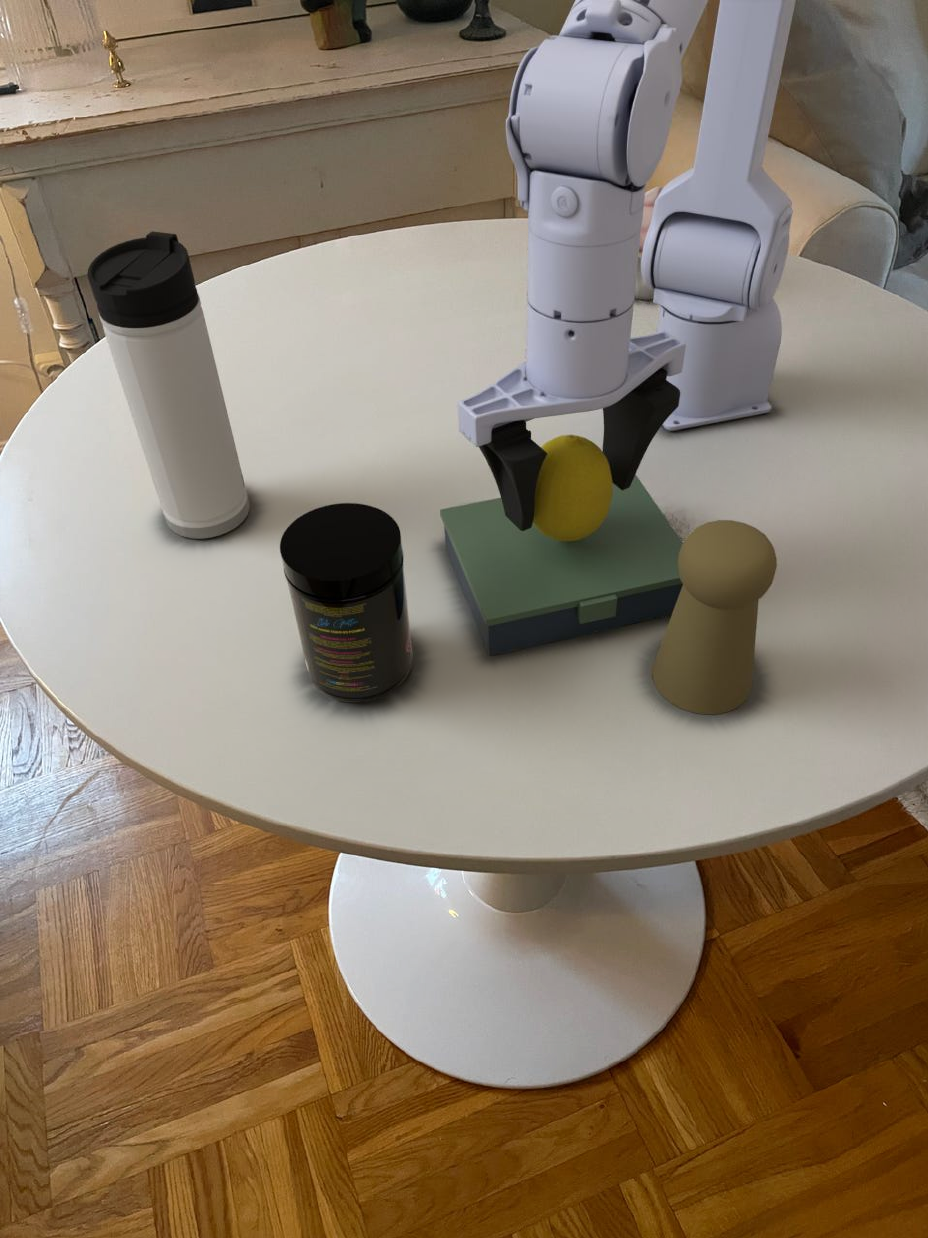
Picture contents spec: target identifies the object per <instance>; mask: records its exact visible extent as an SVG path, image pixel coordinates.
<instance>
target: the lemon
mask: <svg viewBox="0 0 928 1238" xmlns="http://www.w3.org/2000/svg"><path fill="white" fill-rule="evenodd" d="M540 447H541V448H542V449H543V450H544V451H546V452H547V453H548V454H547V455H546V457H545V460H544V462H543V464H542V467H541V469H540V472H539V476H538V480H537V485H536V490H535V509H534V520H533V523H534V525H535V526H536V528H537V529H538V530H539V531H541V532H542V533H543V534H544V535H546V536H548V537H550V538H552V539H554V540H558V541H565V542H569V541H576V540H580V539H583V538H585V537H587V536H589V535H590V534H592V533H593V532H594V531H596V530H597V529H598V528H599V527H600V525H601V524H602V522H603V521H604V519H605V518H606V516H607V514H608V511H609V508H610V503H611V499H612V493H613V483H612V476H611V471H610V466H609V463H608V460H607V458H606V456H605V455H604V453H603V449H601V448H600V447H599V446H598V445H597V444H596V443H595V442H593V441H592V440H590V439H588V438H587V437H584V436H581V435H576V434H564V435H560V436H556V437H554V438H551V439H550V440H548V441H546V442H545V443H544V444H543V445H541V446H540Z"/></svg>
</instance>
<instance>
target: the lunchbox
mask: <svg viewBox="0 0 928 1238" xmlns="http://www.w3.org/2000/svg"><path fill="white" fill-rule="evenodd" d="M439 517H440V519H441V521H442V524H443V529H444V545H445V547H444V548H445V551H446V554H447V556H448V559H449V561H450V563H451V565H452V569H453V570H454V574H455V576H456V578H457V581H458V583H459V586H460V588H461V590H462V592H463V595H464V597H465V598H464V599H465V600H466V603H467V605H468V607H469V610H470V612H471V615H472V617H473V620H474V622H475V624H476V627H477V629H478V632H479V635H480V636H481V639H482V641H483V644H484V646H485V647H484V648H485V649H486V651H487V654H488V656H495V655H499V654H504V653H508V652H513V651H517V650H521V649H526V648H529V647H535V646H540V645H544V644H548V643H553V642H557V641H561V640H566V639H570V638H575V637H580V636H585V635H588V634H592V633H597V632H602V631H606V630H610V629H611V630H612V629H614V628H615V629H616V628H620V627H623V626H627V625H632V624H637V623H641V622H646V621H650V620H654V619H659V618H663V617H668V616H672V613H673V610H674V608H675V605H676V602H677V600H678V597H679V594H680V591H681V589H682V586H683V583H682V582H681V580H680V575H679V568H678V556H679V552H680V549H681V547H682V544H683V542H684V541H683V540H682V539H681V537H680V536H679V534H678V533H677V532H676V530H675V529H674V527H673V526H672V524H671V523H670V522H669V520H668V519H667V517H666V516H665V514H664V513H663V511H662V510H661V508H660V507H659V506H658V504H657V503H656V501H655V500H654V498H652V496H651V495H650V493H649V491H648V490H647V489H646V487H645V486H644V485H643V483H642V481H641V480H640V479H639V477H638V476H637V473H636V474H635V477H634V479H633V481H632V483H631V485H630V487H629V488H627V489H625V490H621V489H620V488H618V487H617V486H616V485H615V484H614V483H613V493H612V499H611V503H610V508H609V511H608V514H607V516H606V518H605V519H604V521H603V522H602V524H601V525H600V527H599V528H598V529H597V530H596V531H594V532H593V533H592V534H590V535H589V536H587V537H585V538H583V539H580V540H576V541H569V542H565V541H558V540H554V539H552V538H550V537H548V536H546V535H544V534H543V533H542V532H541V531H539V530H538V529H537V528H536V526H535V525H534V523H533V524H532V527H531V528H530V529H527V530H525V531H520V530H519V529H518V528H517V527H516V526H515V525H514V524H513V523H512V522H511V521H510V520H509V519H508V518H507V517H506V516H505V512H504V507H503V503H502V499H501V497H497V498H492V499H487V500H481V501H477V502H472V503H465V504H461V505H456V506H451V507H446V508H441V509H439Z"/></svg>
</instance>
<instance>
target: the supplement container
mask: <svg viewBox="0 0 928 1238" xmlns="http://www.w3.org/2000/svg"><path fill="white" fill-rule="evenodd" d="M402 542H403V541H402V534H401V529H400V527H399V525H398V523H397V521H396V520H395V519H394V518H393V517H392V516H391V515H390V514H389V513H387V512H386V511H384V510H382V509H380V508H378V507H376V506H372V505H368V504H364V503H358V502H357V503H356V502H355V503H354V502H341V503H340V502H339V503H332V504H327V505H324V506H320V507H316V508H313V509H311V510H309V511H307V512H305V513H303V514H302V515H300V516H299V517H297V518H295V520H293V521H292V522H291V523H290V524H289V525H288V526H287V527H286V529H285V530H284V532H283V534H282V536H281V538H280V542H279V553H280V556H281V557H280V558H281V561H282V566H283V573H284V576H285V579H286V582H287V586H288V590H289V595H290V599H291V603H292V608H293V612H294V617H295V621H296V626H297V630H298V631H297V632H298V634H299V639H300V644H301V649H302V653H303V657H304V662H305V667H306V672H307V674H308V677H309V680H310V681H311V682H312V684H313V685H314V686H315V687H316V688H317V689H318V690H319V691H320V692H322V693H323V694H324V695H326V696H327V697H330V698H332V699H333V700H337V701H341V702H347V703H364V702H370V701H374V700H378V699H379V698H382V697H385V696H386V695H388V694H390V693H392V692H393V691H394V690H395V689H397V688H398V687H399V686H400V685H401V684H402V683H403V682H404V680H405V679H406V678H407V676H408V674H409V672H410V670H411V668H412V664H413V645H412V636H411V635H412V634H411V626H410V617H409V609H408V607H409V606H408V599H407V598H408V597H407V588H406V577H405V568H404V566H405V565H404V559H405V558H404V556H405V555H404V550H403V543H402Z"/></svg>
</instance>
